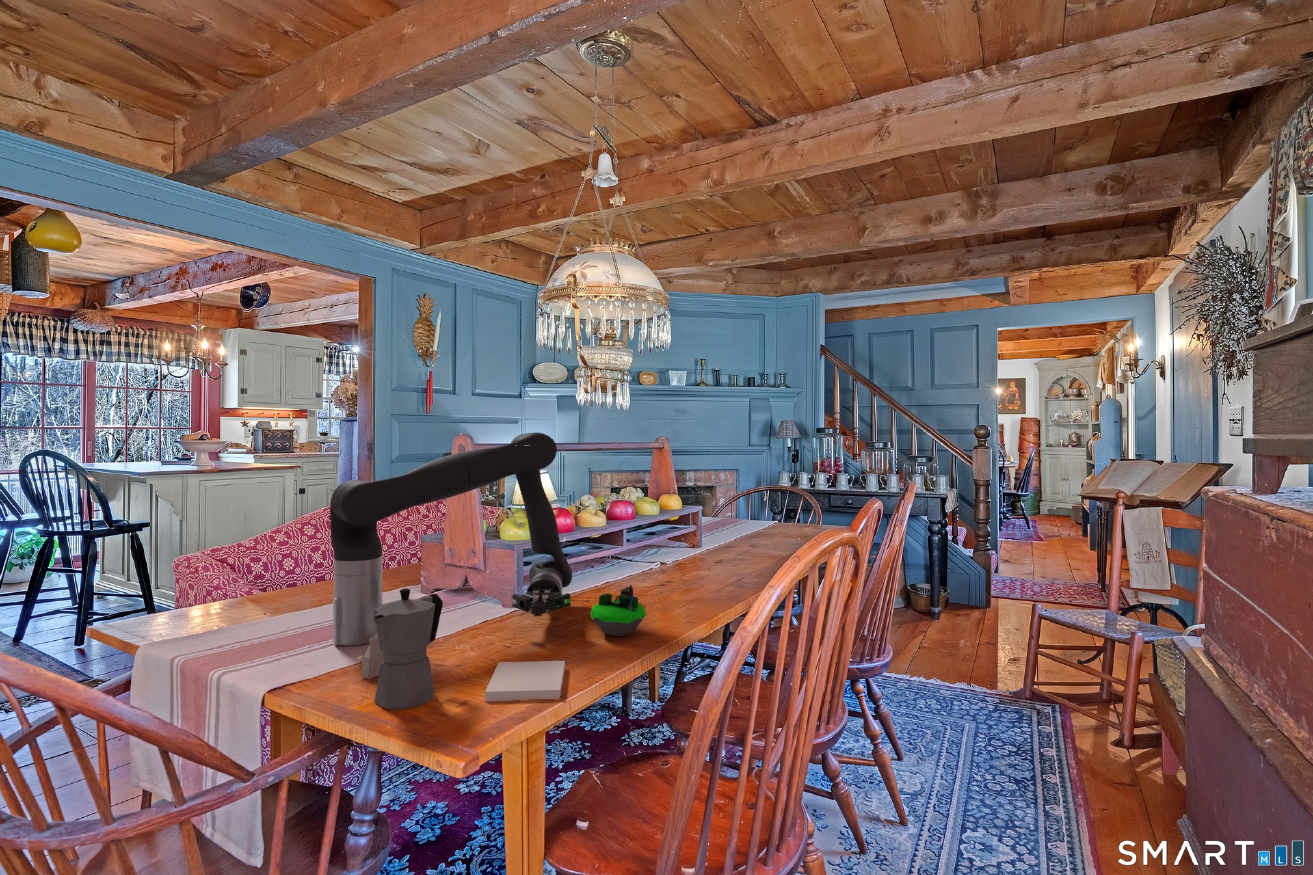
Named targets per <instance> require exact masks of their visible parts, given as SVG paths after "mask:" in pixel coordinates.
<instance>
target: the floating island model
mask: <svg viewBox="0 0 1313 875" xmlns="http://www.w3.org/2000/svg"><path fill="white" fill-rule="evenodd" d="M629 587H630V596H626V595H620V594H619V595H616V596H615V599H616V598H620V601H613V599H612V598H613V593H612V594H611V593H603V594H601V595H600V596H599V597H598V604H593V606H592V607H591V611H590V612H589V614H590V617H591V619H592V620H593V622H594V623H595V625H596V626H597V627H598V628H599V629H600V630H601V631H602V632H603V633H604V634H606V635H610V636H617V637H624V636H626V635H628V634H630V633H632V632H634V631H636V630H637V628H638V627H639V626H640V624H641V623H642V621H643V620H644V619H645V617H646V616H647V613H646V610H645V606H644V605H642V604H639V598H638V597H637V596H634V595H633V596H632V588H633V587H632V584H630V585H629Z"/></svg>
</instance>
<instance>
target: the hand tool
mask: <svg viewBox="0 0 1313 875" xmlns="http://www.w3.org/2000/svg"><path fill="white" fill-rule="evenodd" d="M619 595H626V596H630V586H627V587H625V588H623V589H621V590H620V594H619ZM632 596H634V588H633V587H632ZM612 601H620V598H616V597H615V599H614V600H613V599H612Z"/></svg>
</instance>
